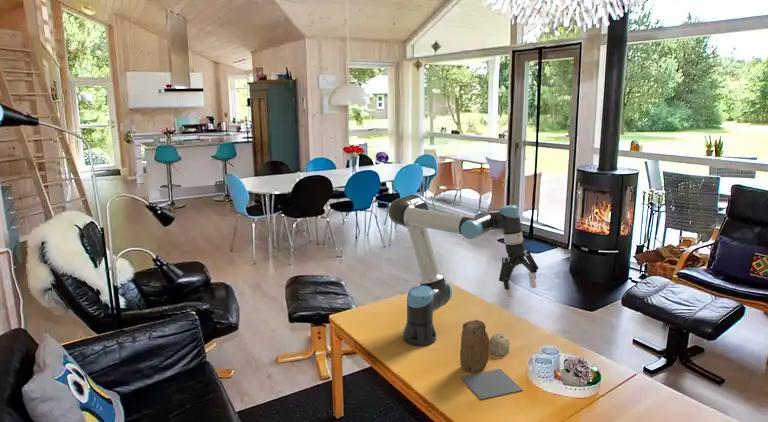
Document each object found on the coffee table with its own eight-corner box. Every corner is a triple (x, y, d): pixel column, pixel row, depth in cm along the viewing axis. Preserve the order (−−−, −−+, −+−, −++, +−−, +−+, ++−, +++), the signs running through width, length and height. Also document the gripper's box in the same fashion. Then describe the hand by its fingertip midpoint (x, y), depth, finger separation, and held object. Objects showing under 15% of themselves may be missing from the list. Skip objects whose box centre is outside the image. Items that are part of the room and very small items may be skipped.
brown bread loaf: (468, 375, 211) (470, 329, 206) (458, 366, 217) (459, 321, 212) (490, 368, 215) (493, 323, 211) (479, 360, 222) (481, 316, 217)
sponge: (509, 359, 231) (512, 336, 234) (508, 356, 222) (510, 332, 226) (488, 355, 234) (491, 332, 237) (485, 352, 225) (489, 329, 229)
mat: (460, 377, 209) (460, 376, 209) (500, 369, 215) (500, 368, 215) (480, 400, 194) (480, 398, 194) (522, 390, 200) (522, 389, 200)
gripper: (497, 250, 209) (506, 302, 212) (542, 236, 221) (549, 285, 224) (485, 249, 216) (493, 299, 218) (529, 235, 228) (536, 282, 230)
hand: (521, 292), depth 221 cm, fingers open, 13 cm apart
